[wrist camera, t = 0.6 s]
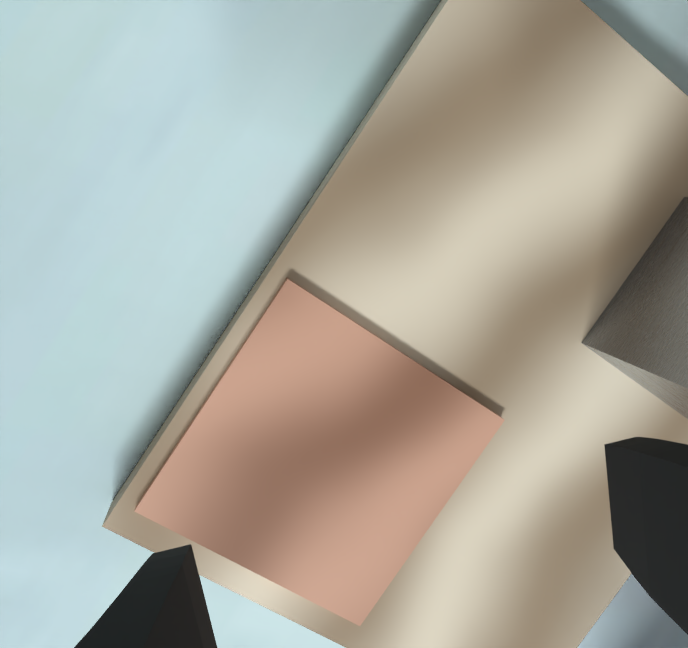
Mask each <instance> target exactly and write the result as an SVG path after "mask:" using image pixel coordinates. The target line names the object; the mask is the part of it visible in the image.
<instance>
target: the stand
mask: <svg viewBox="0 0 688 648" xmlns="http://www.w3.org/2000/svg"><path fill="white" fill-rule="evenodd" d="M684 197H688V96H687V95H686V94H685V93H684V92H683V91H681V90H680V89H679V88H678V87H677V86H676V85H675V84H674V83H673V82H671V81H670V80H669V79H668V78H667V77H666V76H665V75H664V74H662V73H661V72H660V71H659V70H658V69H657V68H656V67H655V66H653V65H652V64H651V63H650V62H649V61H648V60H647V59H646V58H645V57H643V56H642V55H641V54H640V53H639V52H638V51H637V50H636V49H634V48H633V47H632V46H631V45H630V44H629V43H628V42H627V41H626V40H624V39H623V38H622V37H621V36H620V35H619V34H618V33H617V32H615V31H614V30H613V29H612V28H611V27H610V26H609V25H608V24H606V23H605V22H604V21H603V20H602V19H601V18H600V17H599V16H598V15H596V14H595V13H594V12H593V11H592V10H591V9H590V8H589V7H587V6H586V5H585V4H584V3H583V2H582V1H581V0H441V1H440V3H439V4H438V6H437V7H436V9H435V11H434V12H433V14H432V15H431V17H430V18H429V20H428V21H427V23H426V24H425V26H424V27H423V29H422V30H421V32H420V33H419V35H418V36H417V38H416V39H415V41H414V43H413V44H412V46H411V47H410V49H409V50H408V52H407V53H406V55H405V56H404V58H403V59H402V61H401V62H400V64H399V65H398V67H397V68H396V70H395V71H394V73H393V74H392V76H391V78H390V79H389V81H388V82H387V84H386V85H385V87H384V88H383V90H382V91H381V93H380V94H379V96H378V97H377V99H376V100H375V102H374V103H373V105H372V106H371V108H370V110H369V111H368V113H367V114H366V116H365V117H364V119H363V120H362V122H361V123H360V125H359V126H358V128H357V129H356V131H355V132H354V134H353V135H352V137H351V138H350V140H349V142H348V143H347V145H346V146H345V148H344V149H343V151H342V152H341V154H340V155H339V157H338V158H337V160H336V161H335V163H334V164H333V166H332V167H331V169H330V170H329V172H328V174H327V175H326V177H325V178H324V180H323V181H322V183H321V184H320V186H319V187H318V189H317V190H316V192H315V193H314V195H313V196H312V198H311V199H310V201H309V202H308V204H307V206H306V207H305V209H304V210H303V212H302V213H301V215H300V216H299V218H298V219H297V221H296V222H295V224H294V225H293V227H292V228H291V230H290V231H289V233H288V234H287V236H286V238H285V239H284V241H283V242H282V244H281V245H280V247H279V248H278V250H277V251H276V253H275V254H274V256H273V257H272V259H271V260H270V262H269V263H268V265H267V266H266V268H265V270H264V271H263V273H262V274H261V276H260V277H259V279H258V280H257V282H256V283H255V285H254V286H253V288H252V289H251V291H250V292H249V294H248V295H247V297H246V298H245V300H244V302H243V303H242V305H241V306H240V308H239V309H238V311H237V312H236V314H235V315H234V317H233V318H232V320H231V321H230V323H229V324H228V326H227V327H226V329H225V330H224V332H223V334H222V335H221V337H220V338H219V340H218V341H217V343H216V344H215V346H214V347H213V349H212V350H211V352H210V353H209V355H208V356H207V358H206V359H205V361H204V362H203V364H202V366H201V367H200V369H199V370H198V372H197V373H196V375H195V376H194V378H193V379H192V381H191V382H190V384H189V385H188V387H187V388H186V390H185V391H184V393H183V394H182V396H181V398H180V399H179V401H178V402H177V404H176V405H175V407H174V408H173V410H172V411H171V413H170V414H169V416H168V417H167V419H166V420H165V422H164V423H163V425H162V426H161V428H160V430H159V431H158V433H157V434H156V436H155V437H154V439H153V440H152V442H151V443H150V445H149V446H148V448H147V449H146V451H145V452H144V454H143V455H142V457H141V458H140V460H139V462H138V463H137V465H136V466H135V468H134V469H133V471H132V472H131V474H130V475H129V477H128V478H127V480H126V481H125V483H124V484H123V486H122V487H121V489H120V490H119V492H118V494H117V495H116V497H115V498H114V500H113V501H112V503H111V505H110V508H109V510H108V513H107V515H106V518H105V520H104V523H103V525H102V527H104V528H106V529H108V530H110V531H112V532H114V533H116V534H118V535H120V536H122V537H124V538H126V539H128V540H130V541H132V542H134V543H136V544H138V545H140V546H142V547H145V548H147V549H149V550H151V551H153V552H155V553H156V552H160V551H164V550H169V549H173V548H177V547H181V546H185V545H189V544H191V545H192V549H193V553H194V557H195V561H196V565H197V569H198V573H199V575H201V576H203V577H205V578H207V579H209V580H211V581H213V582H215V583H217V584H219V585H221V586H223V587H225V588H227V589H229V590H231V591H233V592H235V593H237V594H239V595H241V596H243V597H245V598H247V599H249V600H251V601H253V602H255V603H257V604H259V605H261V606H263V607H265V608H267V609H269V610H271V611H273V612H275V613H277V614H279V615H282V616H284V617H286V618H288V619H290V620H292V621H294V622H296V623H298V624H300V625H302V626H304V627H306V628H308V629H310V630H312V631H314V632H316V633H318V634H320V635H322V636H324V637H326V638H328V639H330V640H332V641H334V642H336V643H338V644H340V645H342V646H344V647H346V648H577V647H578V646H579V644H580V643H581V642H582V640H583V639H584V638H585V636H586V635H587V633H588V632H589V631H590V629H591V628H592V627H593V625H594V624H595V623H596V621H597V620H598V618H599V617H600V616H601V614H602V613H603V612H604V610H605V609H606V608H607V606H608V605H609V604H610V602H611V601H612V599H613V598H614V597H615V595H616V594H617V593H618V591H619V590H620V589H621V587H622V586H623V584H624V583H625V582H626V580H627V579H628V578H629V576H630V575H631V574H632V573H631V572H630V570H629V569H628V568H627V566H626V565H625V563H624V562H623V561H622V559H621V558H620V557H619V555H618V554H617V553H616V551H615V550H614V547H613V535H612V524H611V513H610V502H609V491H608V480H607V468H606V457H605V446H604V444H608V443H612V442H616V441H621V440H625V439H629V438H633V437H647V438H655V439H661V440H667V441H672V442H677V443H683V444H687V445H688V419H687V418H685V417H684V416H683V415H681V414H680V413H678V412H677V411H676V410H674V409H673V408H671V407H670V406H669V405H667V404H666V403H664V402H663V401H662V400H660V399H659V398H658V397H656V396H655V395H653V394H652V393H651V392H649V391H648V390H646V389H645V388H644V387H642V386H641V385H639V384H638V383H637V382H635V381H634V380H632V379H631V378H630V377H628V376H627V375H625V374H624V373H623V372H621V371H620V370H618V369H617V368H616V367H614V366H613V365H611V364H610V363H609V362H607V361H606V360H604V359H603V358H602V357H600V356H599V355H597V354H596V353H595V352H593V351H592V350H590V349H589V348H588V347H586V346H585V345H583V344H582V343H581V342H582V341H583V340H584V338H585V337H586V335H587V334H588V332H589V331H590V330H591V328H592V327H593V325H594V324H595V322H596V321H597V320H598V318H599V317H600V315H601V314H602V313H603V311H604V310H605V308H606V307H607V305H608V304H609V303H610V301H611V300H612V298H613V297H614V296H615V294H616V293H617V291H618V290H619V288H620V287H621V286H622V284H623V283H624V281H625V280H626V279H627V277H628V276H629V274H630V273H631V271H632V270H633V269H634V267H635V266H636V264H637V263H638V262H639V260H640V259H641V257H642V256H643V254H644V253H645V252H646V250H647V249H648V247H649V246H650V245H651V243H652V242H653V240H654V239H655V237H656V236H657V235H658V233H659V232H660V230H661V229H662V228H663V226H664V225H665V223H666V222H667V220H668V219H669V218H670V216H671V215H672V213H673V212H674V211H675V209H676V208H677V206H678V205H679V203H680V202H681V201H682V199H683V198H684Z"/></svg>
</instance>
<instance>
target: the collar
mask: <svg viewBox="0 0 688 648" xmlns="http://www.w3.org/2000/svg"><path fill="white" fill-rule="evenodd" d="M581 343H582V344H583V345H585V346H586V347H588V348H589V349H590V350H592V351H593V352H595V353H596V354H597V355H599V356H600V357H602V358H603V359H604V360H606V361H607V362H609V363H610V364H611V365H613V366H614V367H616V368H617V369H618V370H620V371H621V372H623V373H624V374H625V375H627V376H628V377H630V378H631V379H632V380H634V381H635V382H637V383H638V384H639V385H641V386H642V387H644V388H645V389H646V390H648V391H649V392H651V393H652V394H653V395H655V396H656V397H658V398H659V399H660V400H662V401H663V402H664V403H666V404H667V405H669V406H670V407H671V408H673V409H674V410H676V411H677V412H678V413H680V414H681V415H683V416H684V417H685V418H687V419H688V197H684V198H683V199H682V201H681V202H680V203H679V205H678V206H677V208H676V209H675V211H674V212H673V213H672V215H671V216H670V218H669V219H668V220H667V222H666V223H665V225H664V226H663V228H662V229H661V230H660V232H659V233H658V235H657V236H656V237H655V239H654V240H653V242H652V243H651V245H650V246H649V247H648V249H647V250H646V252H645V253H644V254H643V256H642V257H641V259H640V260H639V262H638V263H637V264H636V266H635V267H634V269H633V270H632V271H631V273H630V274H629V276H628V277H627V279H626V280H625V281H624V283H623V284H622V286H621V287H620V288H619V290H618V291H617V293H616V294H615V296H614V297H613V298H612V300H611V301H610V303H609V304H608V305H607V307H606V308H605V310H604V311H603V313H602V314H601V315H600V317H599V318H598V320H597V321H596V322H595V324H594V325H593V327H592V328H591V330H590V331H589V332H588V334H587V335H586V337H585V338H584V340H583V341H582V342H581Z"/></svg>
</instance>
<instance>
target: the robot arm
mask: <svg viewBox="0 0 688 648" xmlns="http://www.w3.org/2000/svg"><path fill="white" fill-rule="evenodd" d="M604 446H605V457H606V468H607V480H608V491H609V502H610V513H611V524H612V535H613V547H614V550H615V551H616V553H617V554H618V555H619V557H620V558H621V559H622V561H623V562H624V563H625V565H626V566H627V568H628V569H629V570H630V572H631V573H632V574H633V576H634V577H635V578H636V579H637V581H638V582H639V583H640V584H641V586H642V587H643V588H644V589H645V591H646V592H647V593H648V594H649V596H650V597H651V598H652V599H653V600H654V601H655V602H656V603H657V604H658V605H659V606H660V607H661V608H662V609H663V610H664V611H665V612H666V613H667V614H668V615H669V616H670V617H671V618H672V619H673V620H674V621H675V622H676V623H677V624H678V625H679V626H680V627H681V628H682V629H683V630H684V631H685V632H686V633H687V634H688V445H687V444H683V443H677V442H672V441H667V440H661V439H655V438H647V437H633V438H629V439H625V440H621V441H616V442H612V443H608V444H604ZM74 648H217V645H216V641H215V637H214V633H213V629H212V625H211V621H210V617H209V613H208V609H207V605H206V601H205V597H204V593H203V589H202V585H201V581H200V577H199V573H198V569H197V565H196V561H195V557H194V553H193V549H192V545H191V544H189V545H185V546H181V547H177V548H173V549H169V550H164V551H160V552H156V553H153V554H152V555H151V556H150V557H149V558H148V560H147V561H146V562H145V563H144V564H143V566H142V567H141V568H140V569H139V570H138V572H137V573H136V574H135V575H134V577H133V578H132V579H131V580H130V582H129V583H128V584H127V586H126V587H125V588H124V589H123V591H122V592H121V593H120V594H119V596H118V597H117V598H116V599H115V600H114V602H113V603H112V604H111V605H110V606H109V608H108V609H107V610H106V611H105V613H104V614H103V615H102V616H101V617H100V619H99V620H98V621H97V622H96V623H95V625H94V626H93V627H92V628H91V629H90V631H89V632H88V633H87V634H86V635H85V636H84V637H83V638H82V640H81V641H80V642H79V643H78V644H77V645H76V646H75V647H74Z"/></svg>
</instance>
